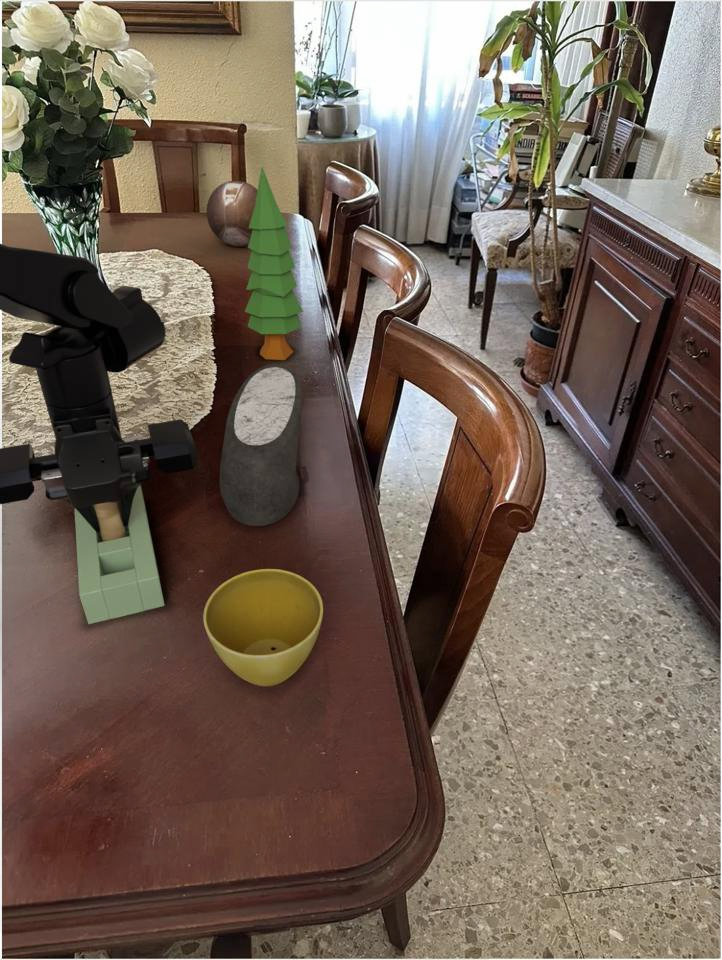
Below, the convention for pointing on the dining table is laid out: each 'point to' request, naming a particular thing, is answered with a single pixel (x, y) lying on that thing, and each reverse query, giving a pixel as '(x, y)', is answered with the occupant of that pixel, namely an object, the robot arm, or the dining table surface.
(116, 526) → the peg
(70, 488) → the robot arm
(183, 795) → the dining table surface
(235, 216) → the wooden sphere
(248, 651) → the flower pot
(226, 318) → the dining table surface
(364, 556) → the dining table surface
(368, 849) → the dining table surface
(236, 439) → the grey stone cylinder
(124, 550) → the peg board
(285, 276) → the decorative tree
